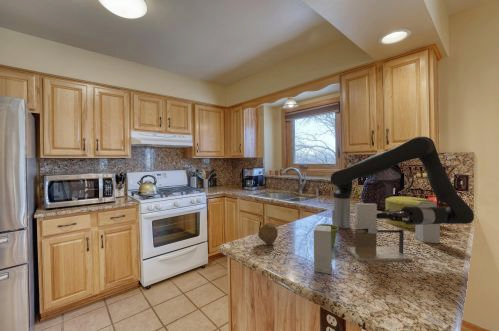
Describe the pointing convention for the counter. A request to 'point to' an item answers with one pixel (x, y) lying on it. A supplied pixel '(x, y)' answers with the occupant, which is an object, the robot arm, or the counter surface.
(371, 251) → the pin leaf jig
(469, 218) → the robot arm
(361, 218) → the knuckle leaf
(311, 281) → the counter surface
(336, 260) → the counter surface
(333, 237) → the plant pot
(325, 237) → the skincare box
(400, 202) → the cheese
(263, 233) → the natural sponge
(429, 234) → the milk carton
